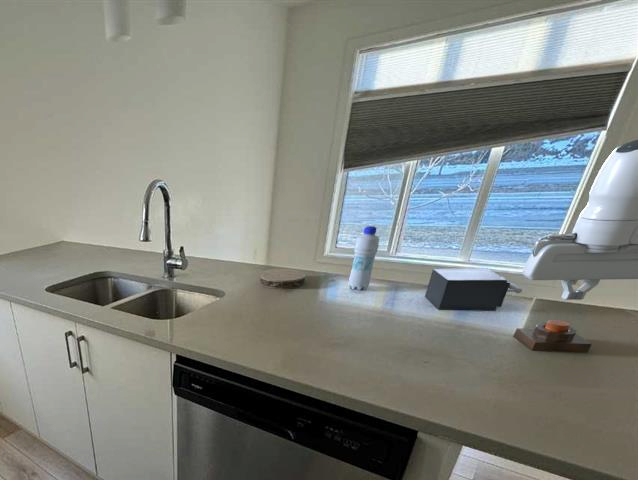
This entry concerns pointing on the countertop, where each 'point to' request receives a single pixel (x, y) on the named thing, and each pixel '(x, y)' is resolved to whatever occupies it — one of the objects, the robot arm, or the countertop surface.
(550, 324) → the button
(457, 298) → the dark navy box
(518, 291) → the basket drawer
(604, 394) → the countertop surface
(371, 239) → the bottle
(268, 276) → the round wood slice
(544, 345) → the control pad
